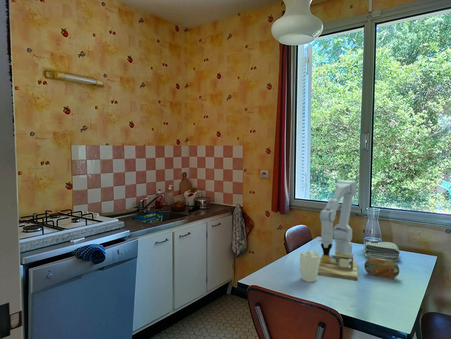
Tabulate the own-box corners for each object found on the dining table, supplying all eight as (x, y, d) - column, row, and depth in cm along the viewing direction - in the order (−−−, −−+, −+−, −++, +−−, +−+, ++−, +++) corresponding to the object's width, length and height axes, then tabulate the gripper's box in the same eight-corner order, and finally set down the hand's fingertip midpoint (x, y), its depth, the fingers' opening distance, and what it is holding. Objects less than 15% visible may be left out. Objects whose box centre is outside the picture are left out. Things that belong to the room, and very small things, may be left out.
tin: (364, 274, 151) (364, 257, 150) (364, 272, 153) (364, 255, 153) (399, 280, 144) (399, 262, 143) (398, 278, 146) (399, 260, 146)
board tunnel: (319, 259, 171) (319, 246, 170) (356, 264, 164) (356, 250, 163) (315, 273, 150) (315, 258, 150) (357, 280, 143) (358, 264, 143)
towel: (400, 263, 168) (400, 248, 167) (363, 258, 175) (364, 244, 174) (397, 254, 181) (397, 241, 181) (363, 250, 189) (363, 237, 188)
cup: (308, 284, 138) (309, 258, 137) (295, 277, 146) (295, 252, 145) (323, 281, 142) (324, 255, 141) (309, 274, 150) (310, 250, 149)
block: (339, 263, 159) (339, 255, 159) (348, 264, 158) (348, 256, 157) (339, 265, 155) (339, 258, 155) (348, 267, 154) (349, 259, 154)
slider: (322, 261, 164) (322, 254, 163) (350, 264, 158) (350, 257, 158) (321, 264, 158) (321, 257, 158) (350, 268, 153) (350, 261, 153)
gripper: (320, 228, 172) (319, 252, 172) (318, 234, 158) (317, 260, 159) (333, 229, 169) (332, 253, 170) (332, 236, 156) (331, 262, 156)
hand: (326, 257), depth 164 cm, fingers closed
